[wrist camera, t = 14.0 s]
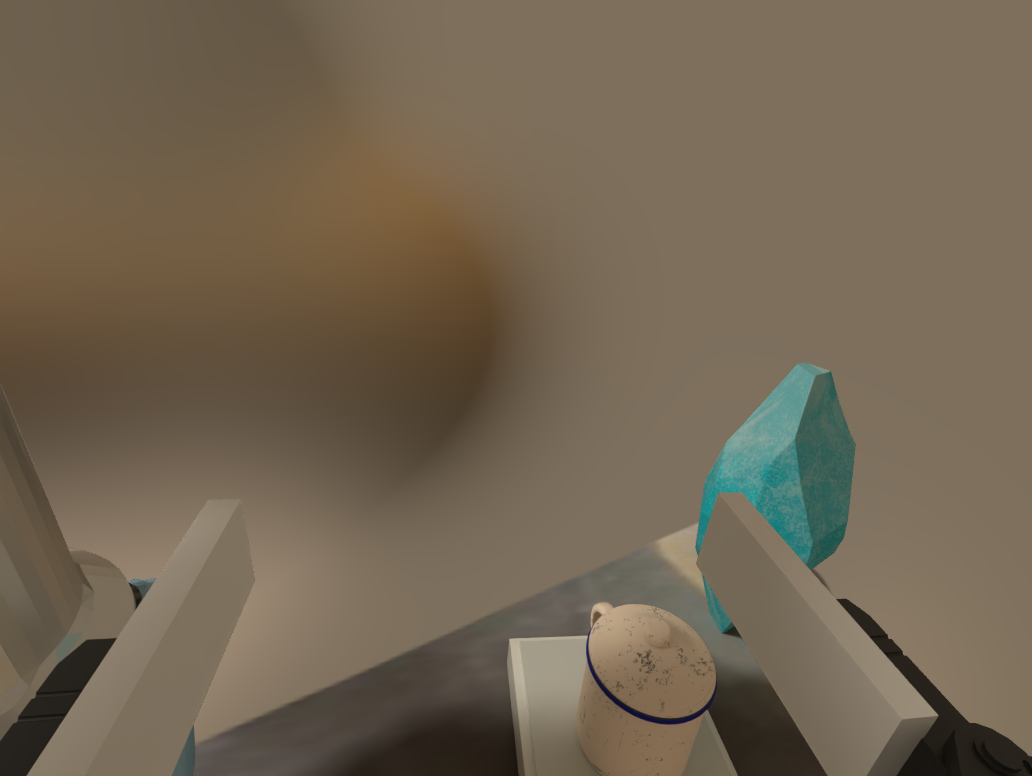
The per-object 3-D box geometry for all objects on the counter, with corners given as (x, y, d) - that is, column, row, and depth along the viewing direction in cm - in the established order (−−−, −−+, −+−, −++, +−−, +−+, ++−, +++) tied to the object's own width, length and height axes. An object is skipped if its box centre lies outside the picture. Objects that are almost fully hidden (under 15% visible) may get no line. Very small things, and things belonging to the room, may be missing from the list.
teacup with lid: (716, 777, 37) (758, 668, 32) (606, 819, 34) (635, 707, 29) (631, 640, 47) (654, 542, 43) (541, 664, 44) (555, 562, 40)
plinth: (529, 877, 34) (534, 845, 33) (507, 664, 49) (510, 634, 47) (749, 855, 36) (764, 823, 35) (665, 656, 51) (673, 627, 49)
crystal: (817, 636, 55) (930, 381, 42) (738, 696, 48) (846, 410, 35) (723, 564, 64) (794, 337, 52) (645, 605, 57) (706, 353, 45)
